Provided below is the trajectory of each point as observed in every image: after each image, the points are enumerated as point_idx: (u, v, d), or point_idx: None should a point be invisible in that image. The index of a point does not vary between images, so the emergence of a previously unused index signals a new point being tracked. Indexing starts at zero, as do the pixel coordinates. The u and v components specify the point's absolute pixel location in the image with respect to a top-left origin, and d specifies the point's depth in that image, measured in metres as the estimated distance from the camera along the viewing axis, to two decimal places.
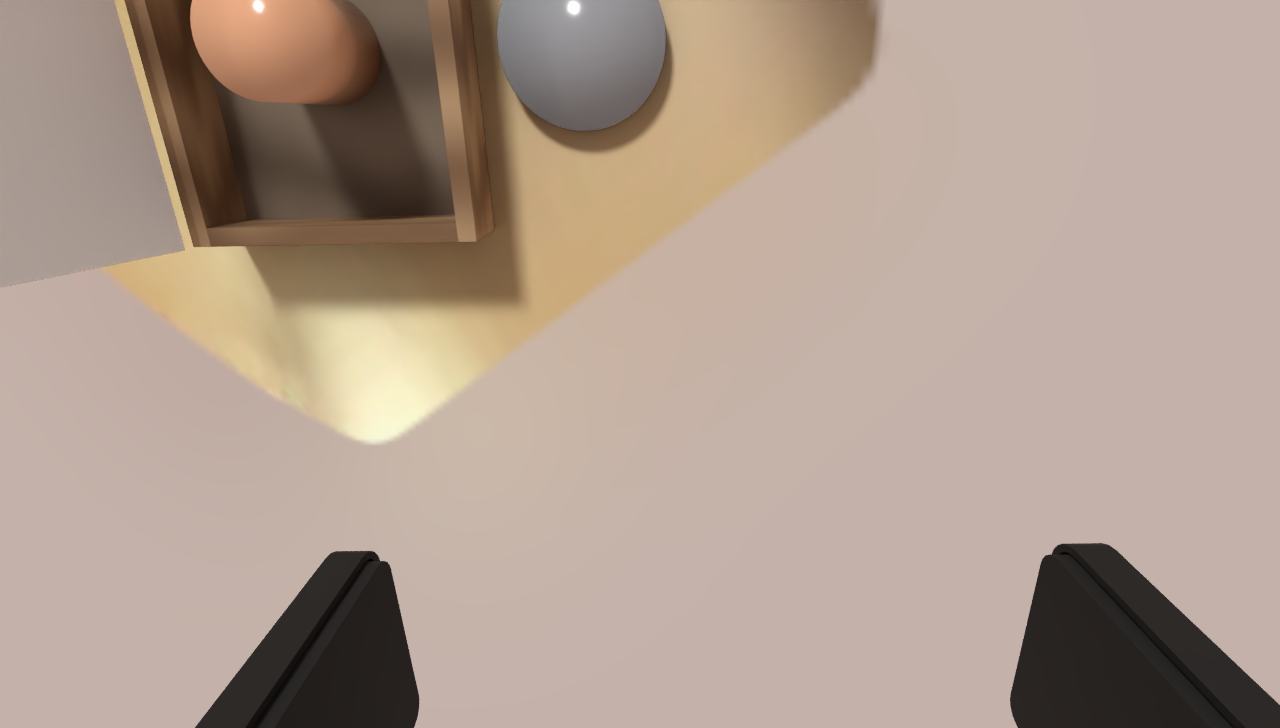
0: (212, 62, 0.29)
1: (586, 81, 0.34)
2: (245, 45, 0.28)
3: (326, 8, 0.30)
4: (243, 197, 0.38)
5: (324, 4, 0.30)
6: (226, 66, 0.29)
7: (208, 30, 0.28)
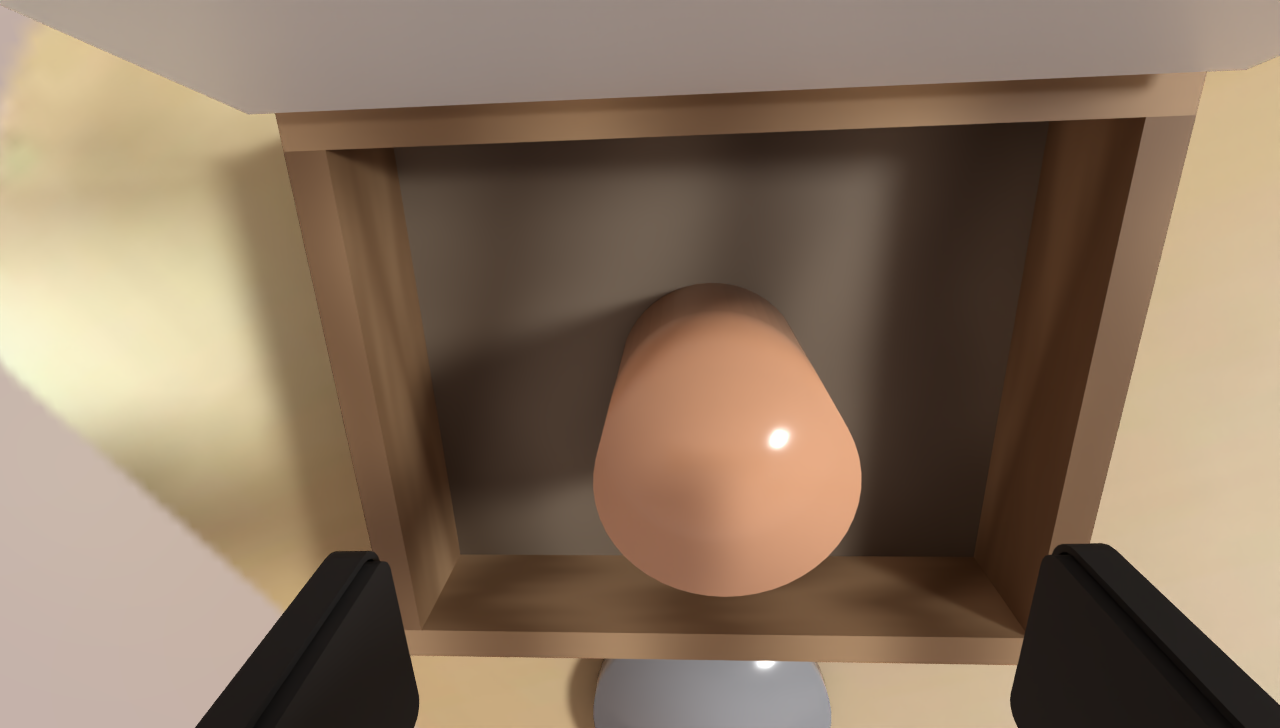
0: (671, 394, 0.13)
1: (658, 722, 0.24)
2: (704, 469, 0.13)
3: None
4: None
5: None
6: (663, 422, 0.13)
7: (736, 401, 0.13)
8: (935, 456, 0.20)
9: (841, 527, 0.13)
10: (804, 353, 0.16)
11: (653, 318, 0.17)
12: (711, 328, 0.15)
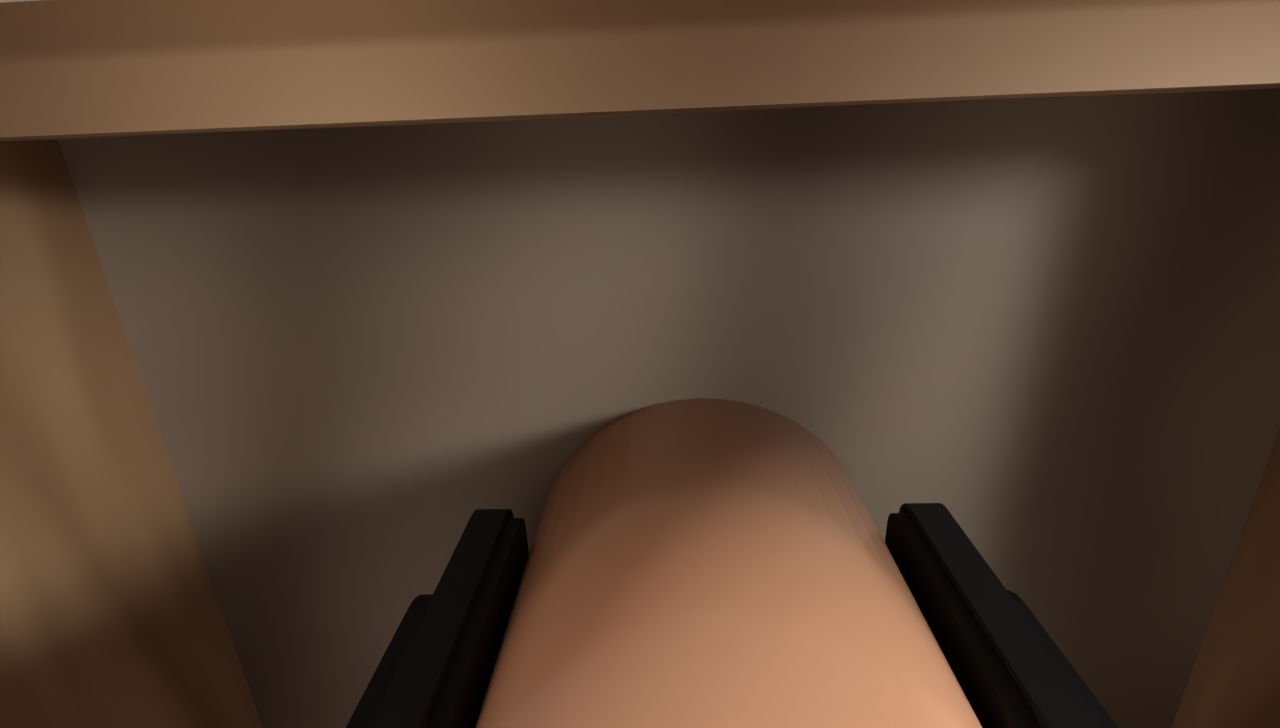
0: None
1: None
2: None
3: None
4: (150, 135, 0.09)
5: None
6: None
7: None
8: (1092, 679, 0.12)
9: None
10: (912, 601, 0.07)
11: (585, 493, 0.09)
12: (708, 603, 0.06)
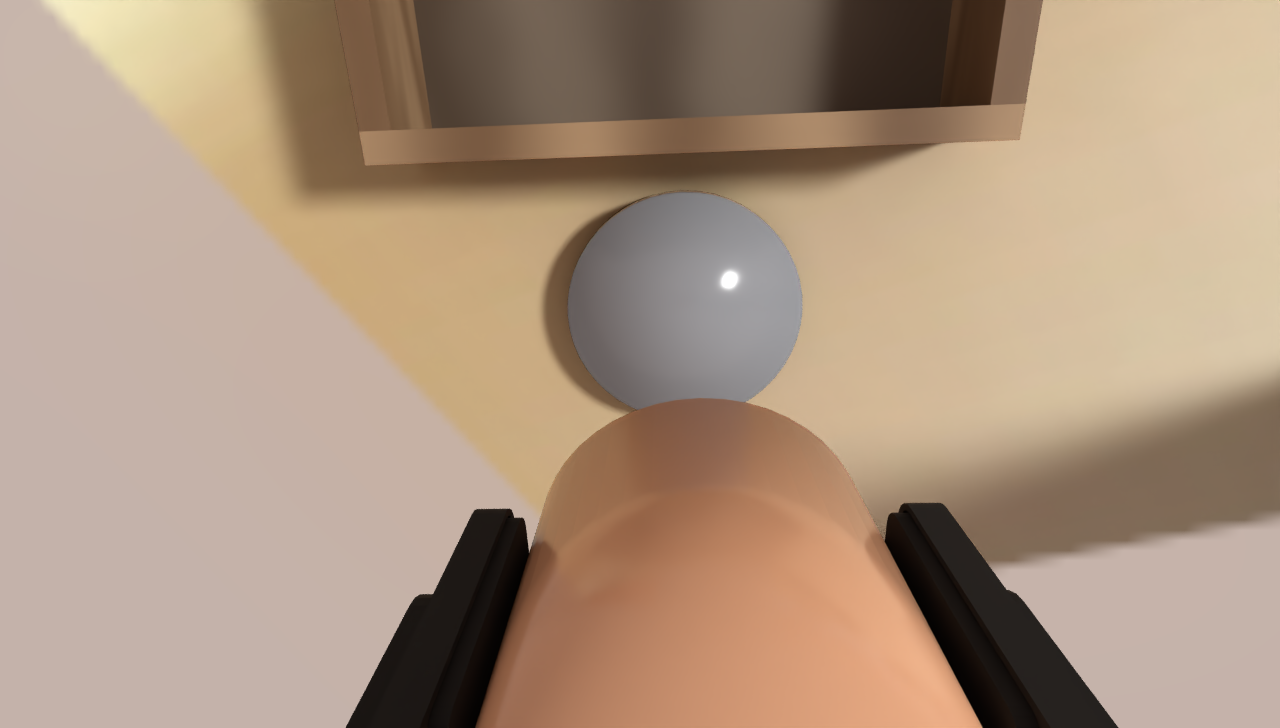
0: None
1: (632, 319, 0.24)
2: None
3: None
4: None
5: None
6: None
7: None
8: None
9: None
10: (912, 601, 0.07)
11: (585, 493, 0.09)
12: (708, 605, 0.06)
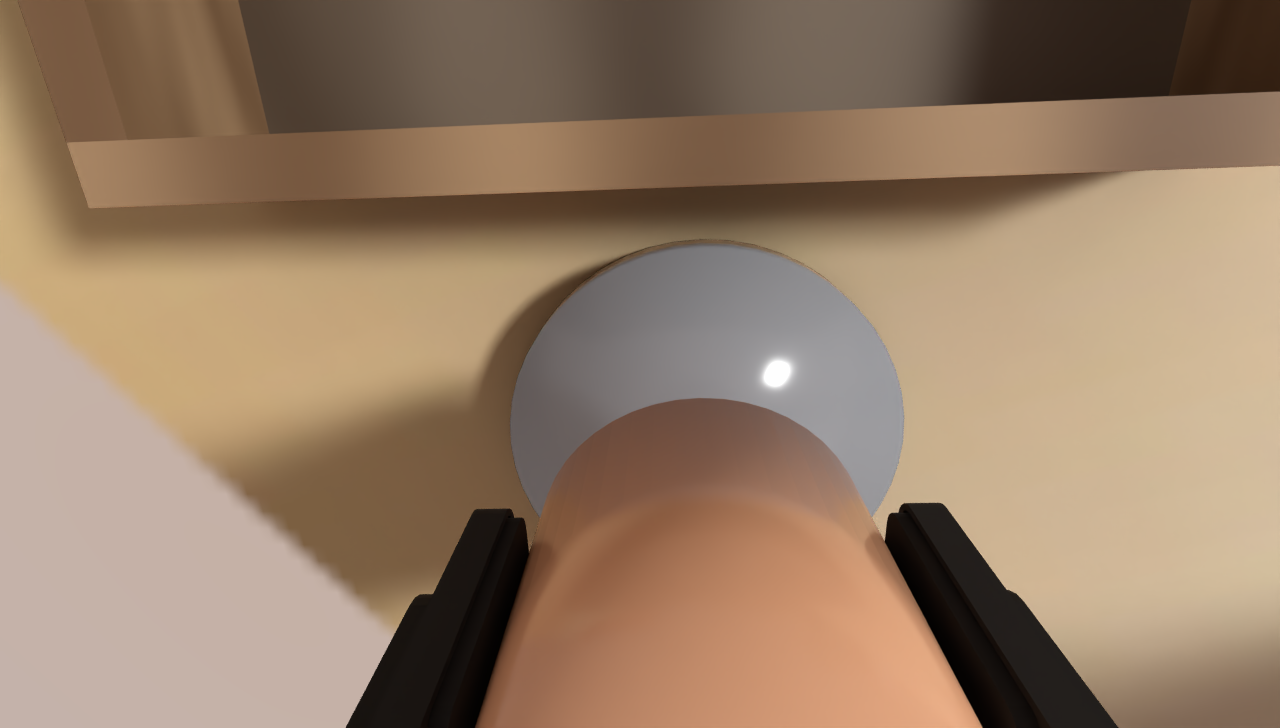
0: None
1: None
2: None
3: None
4: None
5: None
6: None
7: None
8: None
9: None
10: (912, 601, 0.07)
11: (585, 493, 0.08)
12: (708, 604, 0.06)
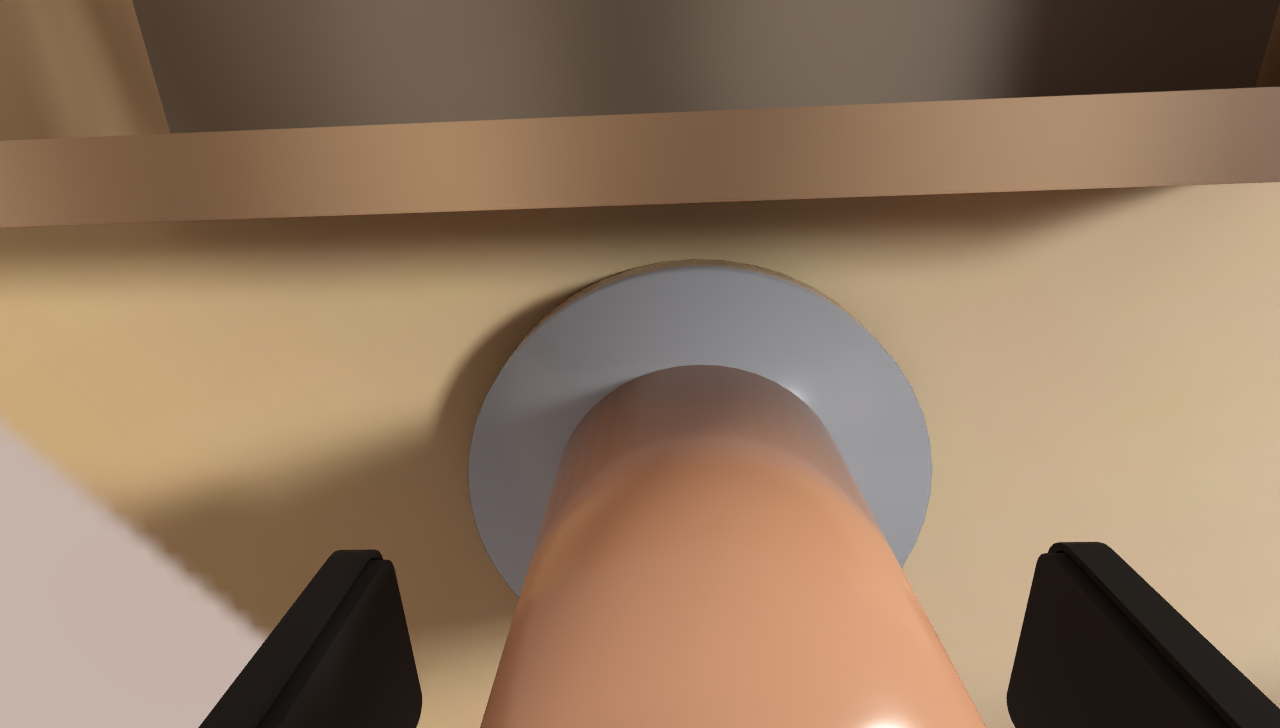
0: None
1: None
2: None
3: None
4: None
5: None
6: None
7: None
8: None
9: None
10: (875, 524, 0.09)
11: (599, 441, 0.10)
12: (703, 511, 0.07)
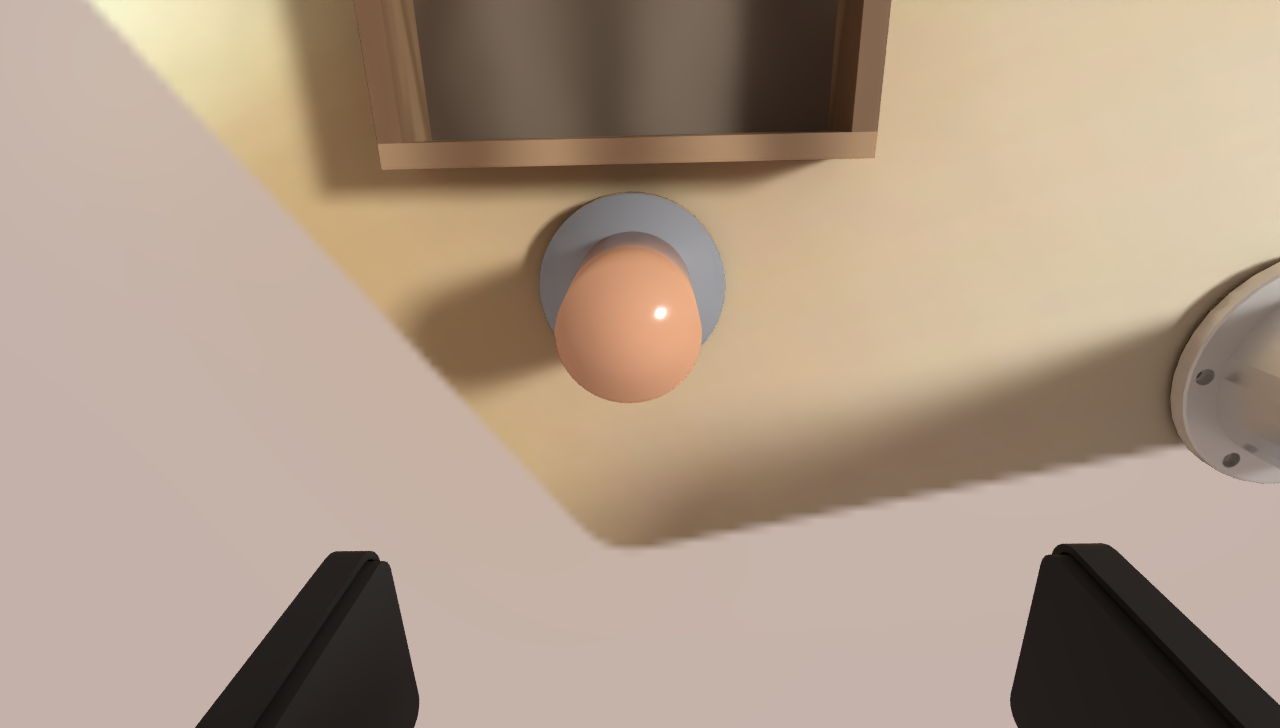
0: (597, 280, 0.23)
1: None
2: (616, 324, 0.24)
3: None
4: None
5: None
6: (593, 296, 0.23)
7: (632, 284, 0.23)
8: (794, 34, 0.27)
9: (692, 358, 0.24)
10: (682, 269, 0.27)
11: (593, 251, 0.28)
12: (624, 250, 0.25)
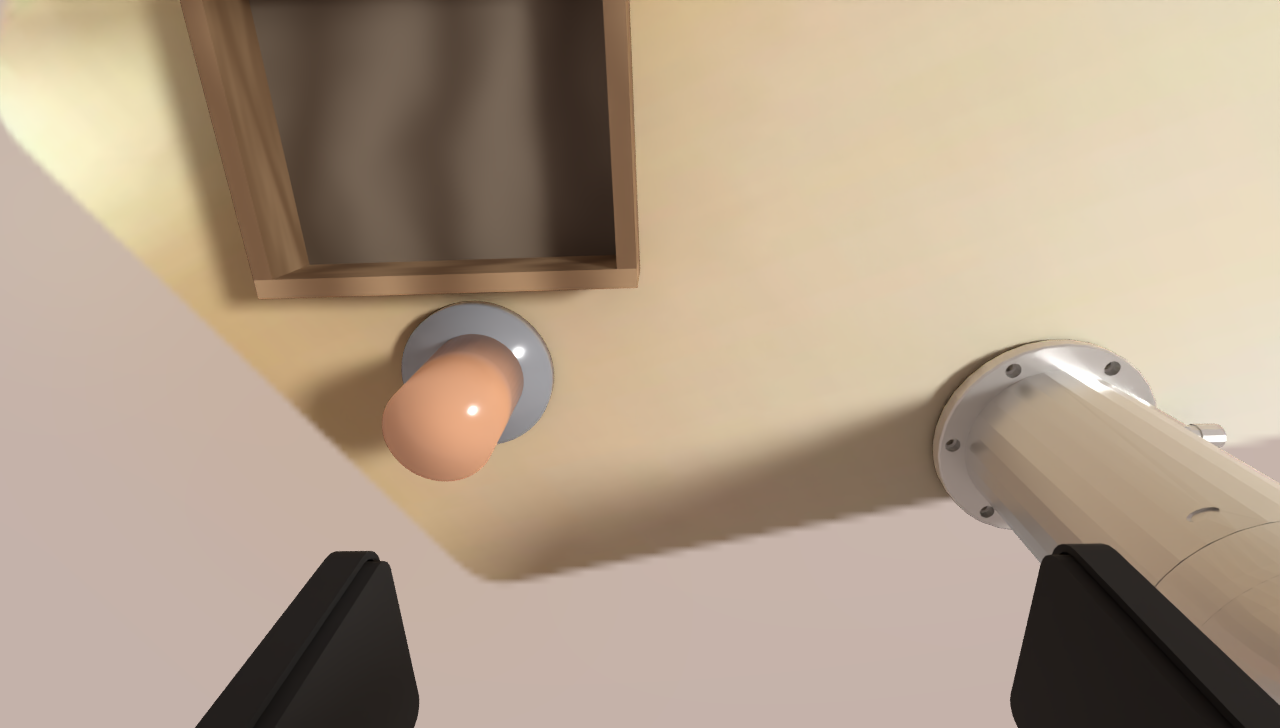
0: (409, 392, 0.30)
1: None
2: (428, 423, 0.31)
3: None
4: None
5: None
6: (407, 404, 0.31)
7: (436, 395, 0.30)
8: (585, 184, 0.34)
9: (489, 448, 0.31)
10: (497, 371, 0.34)
11: (433, 354, 0.35)
12: (442, 362, 0.32)
